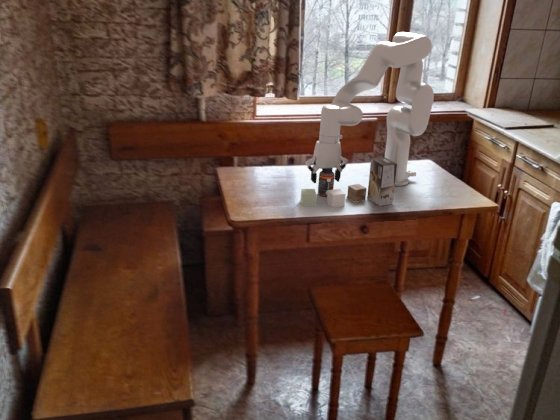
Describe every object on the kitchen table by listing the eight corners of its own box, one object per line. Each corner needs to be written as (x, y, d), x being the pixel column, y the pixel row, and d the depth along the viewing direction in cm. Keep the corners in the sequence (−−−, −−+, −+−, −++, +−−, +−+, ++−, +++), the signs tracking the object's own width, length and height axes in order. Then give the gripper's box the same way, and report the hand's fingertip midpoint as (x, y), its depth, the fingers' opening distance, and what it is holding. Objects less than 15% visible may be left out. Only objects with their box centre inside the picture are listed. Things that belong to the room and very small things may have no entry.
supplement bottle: (332, 197, 214) (334, 170, 209) (316, 196, 215) (318, 168, 210) (333, 192, 219) (335, 165, 215) (318, 190, 220) (320, 163, 216)
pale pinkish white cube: (338, 201, 211) (339, 189, 209) (344, 206, 207) (345, 193, 205) (326, 202, 210) (327, 190, 208) (332, 207, 205) (333, 195, 203)
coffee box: (393, 204, 210) (398, 164, 204) (378, 206, 208) (383, 165, 201) (380, 195, 218) (384, 156, 212) (366, 197, 216) (370, 158, 209)
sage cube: (313, 201, 210) (314, 188, 208) (315, 206, 206) (316, 193, 204) (300, 201, 210) (301, 188, 208) (302, 206, 206) (302, 193, 204)
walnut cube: (357, 195, 217) (358, 183, 215) (365, 200, 213) (366, 188, 211) (347, 197, 215) (348, 185, 213) (354, 202, 211) (355, 190, 209)
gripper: (345, 135, 214) (341, 176, 221) (304, 136, 208) (301, 179, 215) (354, 140, 207) (349, 183, 214) (311, 142, 202) (308, 186, 209)
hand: (325, 181), depth 215 cm, fingers open, 9 cm apart
